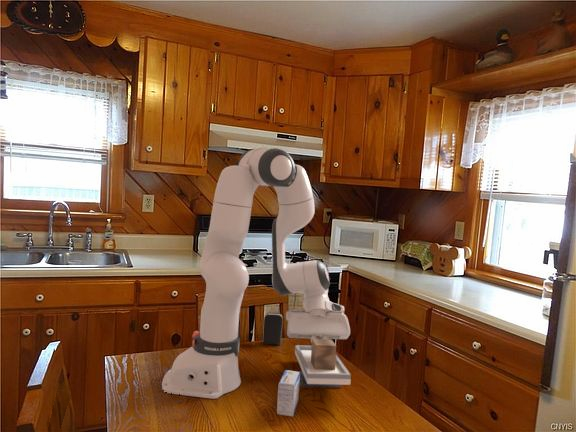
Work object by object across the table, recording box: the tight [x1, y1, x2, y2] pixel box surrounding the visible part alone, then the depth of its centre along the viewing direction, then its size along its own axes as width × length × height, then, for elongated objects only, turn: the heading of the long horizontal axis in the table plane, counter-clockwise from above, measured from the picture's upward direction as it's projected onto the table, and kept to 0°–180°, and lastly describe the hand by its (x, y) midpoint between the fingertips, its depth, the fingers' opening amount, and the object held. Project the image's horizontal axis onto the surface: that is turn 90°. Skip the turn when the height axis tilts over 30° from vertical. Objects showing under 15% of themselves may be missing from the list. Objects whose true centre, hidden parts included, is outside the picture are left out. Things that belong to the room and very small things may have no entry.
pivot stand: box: [297, 370, 342, 389], centre depth 124 cm, size 12×8×4 cm, turn 95°
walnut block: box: [311, 338, 337, 370], centre depth 121 cm, size 6×7×7 cm
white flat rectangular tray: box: [294, 344, 352, 386], centre depth 124 cm, size 12×28×3 cm, turn 5°
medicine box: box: [276, 369, 300, 417], centre depth 108 cm, size 8×4×9 cm, turn 168°
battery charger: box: [262, 312, 283, 346], centre depth 150 cm, size 7×4×11 cm, turn 91°
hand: (319, 351), depth 125 cm, fingers closed, pressing on walnut block
